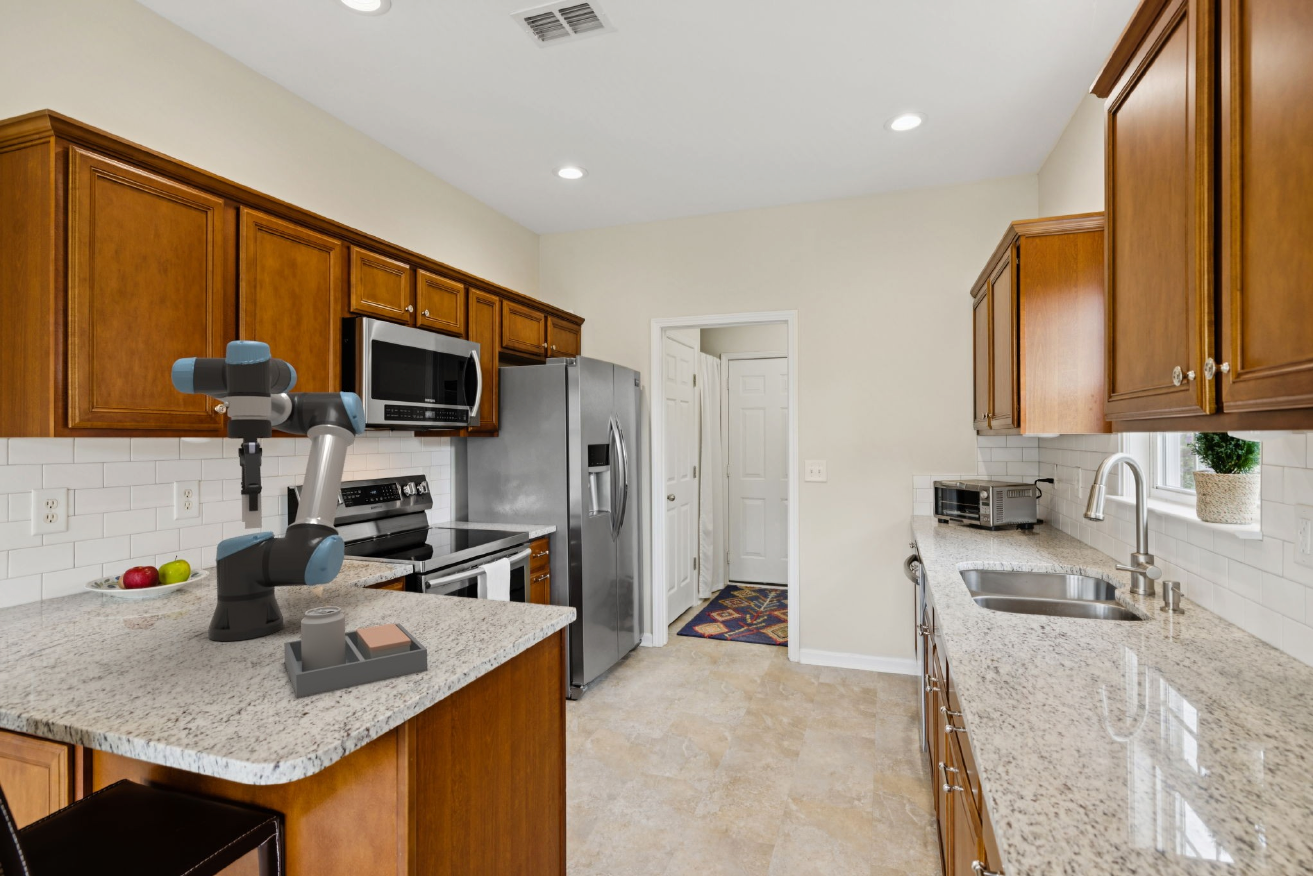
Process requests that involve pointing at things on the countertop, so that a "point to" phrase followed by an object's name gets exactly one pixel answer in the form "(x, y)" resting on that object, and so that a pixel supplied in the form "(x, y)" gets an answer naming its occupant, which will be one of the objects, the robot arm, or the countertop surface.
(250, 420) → the robot arm
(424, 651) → the tray
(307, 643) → the can
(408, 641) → the two-tone square sponge
